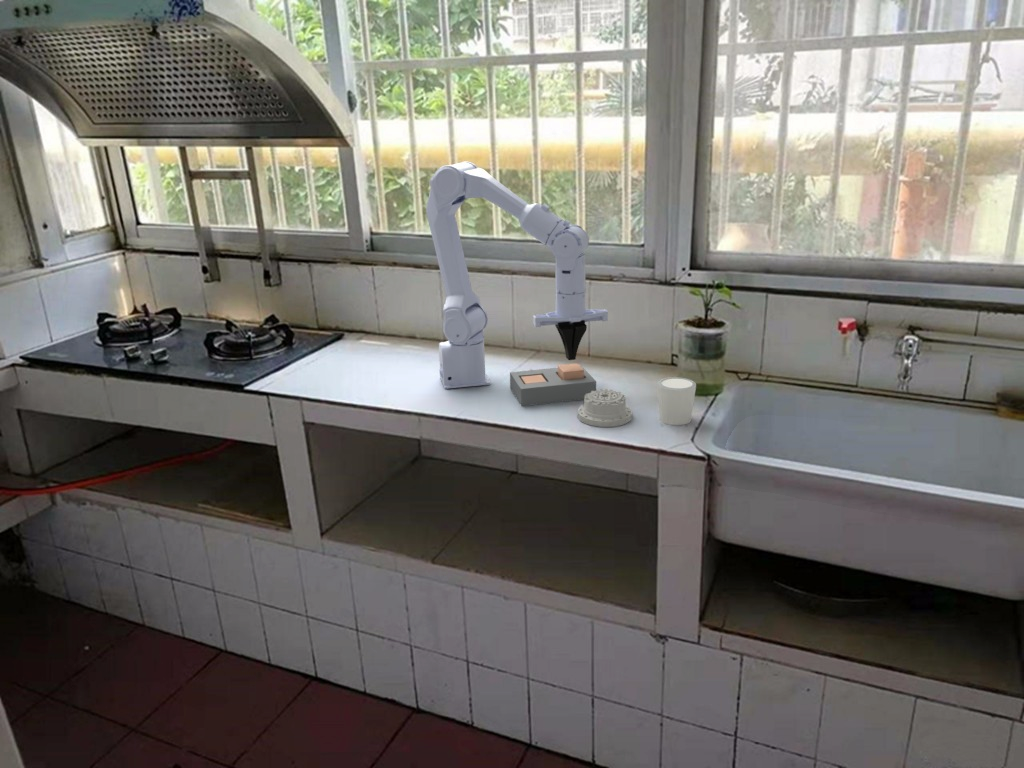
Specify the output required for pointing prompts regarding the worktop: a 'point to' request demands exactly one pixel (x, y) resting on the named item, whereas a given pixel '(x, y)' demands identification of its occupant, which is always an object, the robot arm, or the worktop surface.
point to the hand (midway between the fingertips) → (570, 358)
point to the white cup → (676, 400)
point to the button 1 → (532, 379)
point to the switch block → (550, 387)
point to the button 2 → (570, 371)
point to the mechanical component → (604, 409)
